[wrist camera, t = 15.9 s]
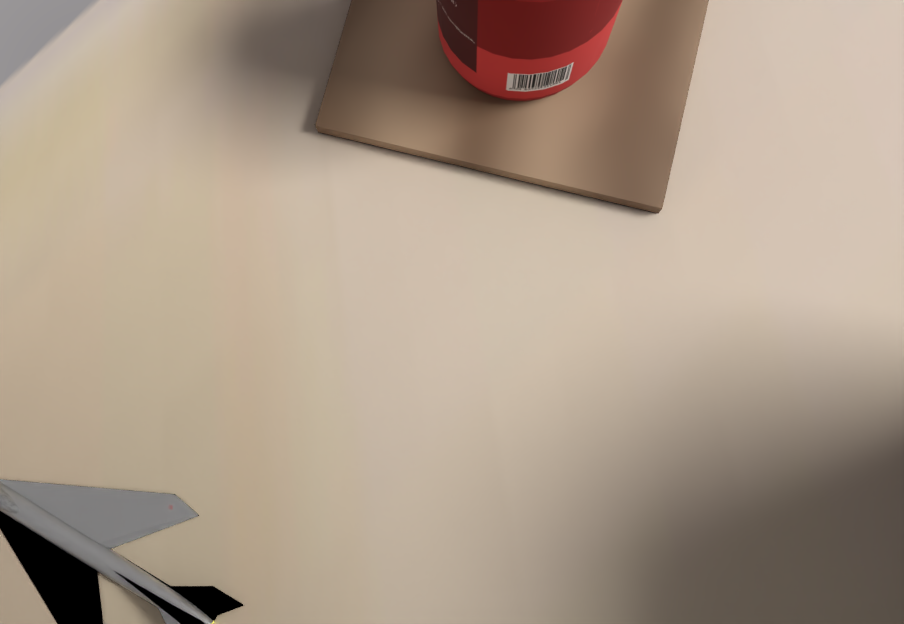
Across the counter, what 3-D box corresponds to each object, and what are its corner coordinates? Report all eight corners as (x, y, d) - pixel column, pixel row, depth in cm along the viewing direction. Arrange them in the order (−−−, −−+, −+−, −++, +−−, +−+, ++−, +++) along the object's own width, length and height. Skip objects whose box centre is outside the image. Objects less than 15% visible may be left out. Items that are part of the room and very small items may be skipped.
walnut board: (720, -64, 40) (725, -74, 40) (658, 213, 38) (662, 208, 38) (395, -136, 41) (394, -147, 40) (318, 131, 39) (315, 125, 38)
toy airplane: (-41, 361, 38) (-73, 355, 36) (359, 602, 36) (351, 612, 34) (-141, 512, 37) (-180, 517, 35) (265, 768, 35) (251, 790, 33)
